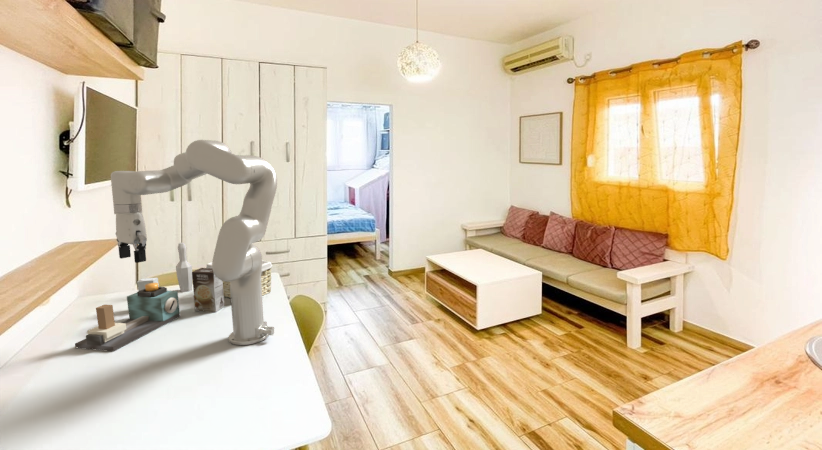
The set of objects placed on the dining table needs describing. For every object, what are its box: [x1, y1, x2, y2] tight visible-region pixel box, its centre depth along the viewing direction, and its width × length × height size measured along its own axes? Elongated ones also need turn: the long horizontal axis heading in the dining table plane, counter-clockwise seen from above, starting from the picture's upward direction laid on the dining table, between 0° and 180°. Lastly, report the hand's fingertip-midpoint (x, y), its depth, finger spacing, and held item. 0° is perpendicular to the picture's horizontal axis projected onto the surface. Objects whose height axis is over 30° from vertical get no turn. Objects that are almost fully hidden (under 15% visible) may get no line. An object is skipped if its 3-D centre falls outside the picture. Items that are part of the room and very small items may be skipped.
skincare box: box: [136, 277, 160, 292], centre depth 158 cm, size 6×4×12 cm
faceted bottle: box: [175, 242, 193, 293], centre depth 179 cm, size 6×6×22 cm
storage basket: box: [205, 259, 273, 299], centre depth 174 cm, size 24×16×15 cm
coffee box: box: [192, 267, 225, 313], centre depth 156 cm, size 9×6×16 cm
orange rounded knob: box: [145, 282, 159, 291], centre depth 145 cm, size 4×4×2 cm
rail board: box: [74, 286, 181, 352], centre depth 137 cm, size 15×28×12 cm, turn 170°
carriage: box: [87, 304, 126, 342], centre depth 128 cm, size 7×7×10 cm
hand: (132, 259), depth 132 cm, fingers open, 9 cm apart
